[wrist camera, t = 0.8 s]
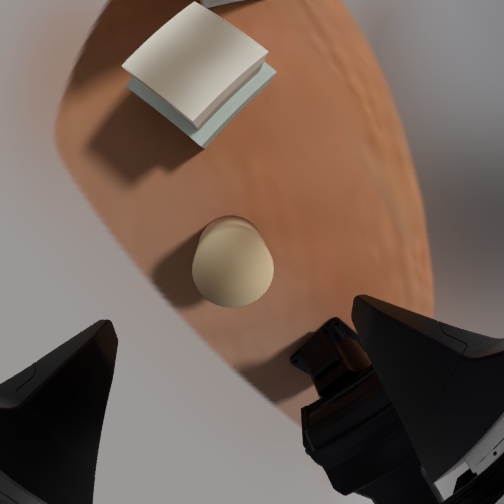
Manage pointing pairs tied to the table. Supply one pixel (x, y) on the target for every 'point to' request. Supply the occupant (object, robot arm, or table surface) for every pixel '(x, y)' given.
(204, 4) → the small box
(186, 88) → the cream top block
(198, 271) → the maple cylinder
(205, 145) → the sage base block
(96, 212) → the table surface
